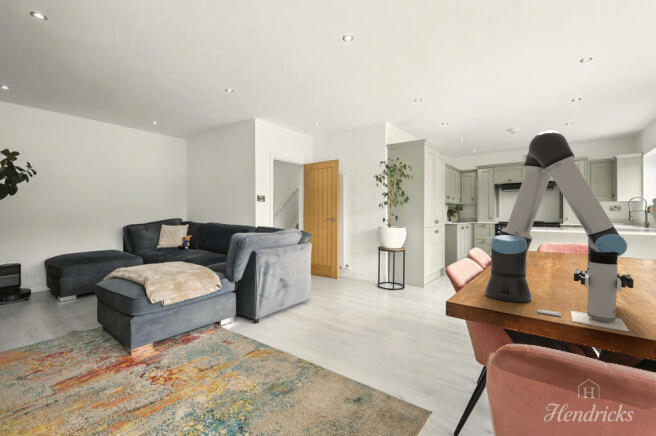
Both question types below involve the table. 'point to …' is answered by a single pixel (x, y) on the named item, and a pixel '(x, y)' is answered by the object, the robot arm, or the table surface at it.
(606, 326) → the notepad
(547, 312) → the plate
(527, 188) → the robot arm
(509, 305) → the table surface
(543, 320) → the table surface
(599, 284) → the travel mug
